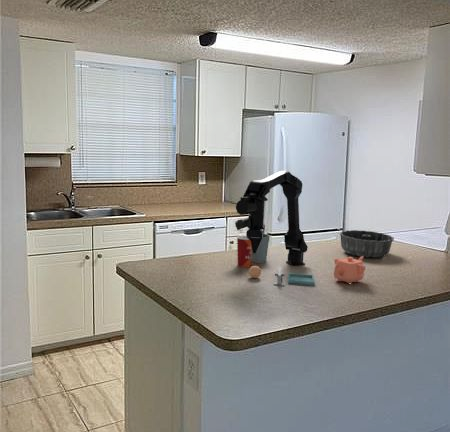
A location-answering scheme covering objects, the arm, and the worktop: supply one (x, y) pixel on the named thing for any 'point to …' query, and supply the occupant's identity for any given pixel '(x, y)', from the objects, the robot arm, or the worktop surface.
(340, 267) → the pink piggy bank
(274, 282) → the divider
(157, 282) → the worktop surface
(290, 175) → the robot arm
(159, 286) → the worktop surface
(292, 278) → the coaster tray
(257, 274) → the ball
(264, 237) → the grey tapered cup
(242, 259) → the paper cup
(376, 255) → the bundt pan
